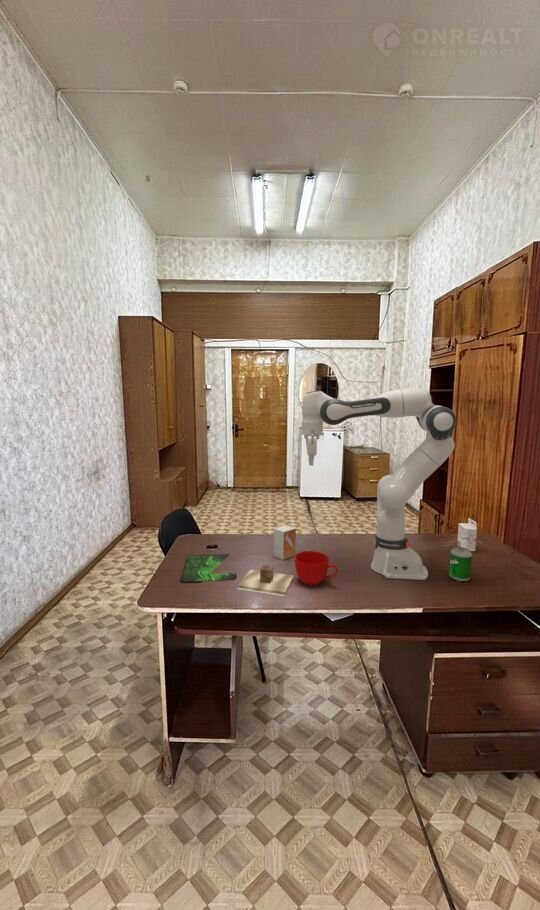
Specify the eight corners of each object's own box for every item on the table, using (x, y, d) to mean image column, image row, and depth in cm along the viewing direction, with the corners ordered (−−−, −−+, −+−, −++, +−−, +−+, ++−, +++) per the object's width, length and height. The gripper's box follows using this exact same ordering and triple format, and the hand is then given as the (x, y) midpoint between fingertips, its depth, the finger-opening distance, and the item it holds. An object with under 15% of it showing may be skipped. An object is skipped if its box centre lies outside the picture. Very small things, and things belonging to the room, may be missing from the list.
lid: (293, 577, 149) (293, 563, 149) (285, 594, 136) (285, 578, 135) (250, 571, 154) (250, 557, 154) (238, 587, 141) (238, 572, 140)
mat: (294, 577, 150) (294, 576, 150) (284, 597, 135) (284, 596, 135) (251, 571, 155) (251, 570, 155) (237, 589, 140) (237, 588, 140)
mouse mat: (186, 556, 172) (186, 554, 172) (235, 554, 174) (235, 552, 174) (179, 584, 145) (179, 581, 145) (237, 581, 147) (237, 579, 147)
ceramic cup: (330, 596, 136) (331, 569, 135) (288, 584, 145) (289, 559, 143) (342, 581, 148) (343, 557, 146) (302, 572, 156) (303, 548, 154)
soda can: (468, 576, 153) (470, 547, 152) (471, 584, 146) (473, 554, 145) (447, 573, 156) (449, 545, 154) (450, 581, 149) (452, 551, 147)
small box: (283, 560, 167) (283, 532, 165) (273, 556, 172) (273, 528, 170) (295, 555, 173) (296, 528, 171) (285, 551, 177) (286, 524, 175)
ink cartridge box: (456, 546, 186) (458, 517, 184) (466, 546, 186) (468, 517, 184) (464, 552, 178) (467, 522, 176) (475, 553, 178) (478, 522, 176)
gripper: (320, 432, 146) (319, 467, 148) (318, 429, 167) (317, 460, 168) (304, 432, 147) (303, 467, 149) (304, 428, 167) (303, 459, 169)
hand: (310, 463), depth 159 cm, fingers open, 8 cm apart
